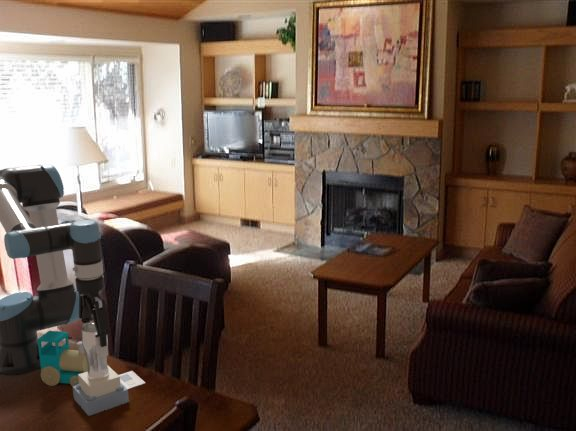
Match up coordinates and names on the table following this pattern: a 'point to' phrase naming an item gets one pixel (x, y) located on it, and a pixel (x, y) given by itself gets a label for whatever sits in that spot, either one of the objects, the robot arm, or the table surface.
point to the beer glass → (93, 354)
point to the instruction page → (130, 380)
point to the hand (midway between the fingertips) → (96, 349)
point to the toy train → (60, 359)
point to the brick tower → (100, 393)
